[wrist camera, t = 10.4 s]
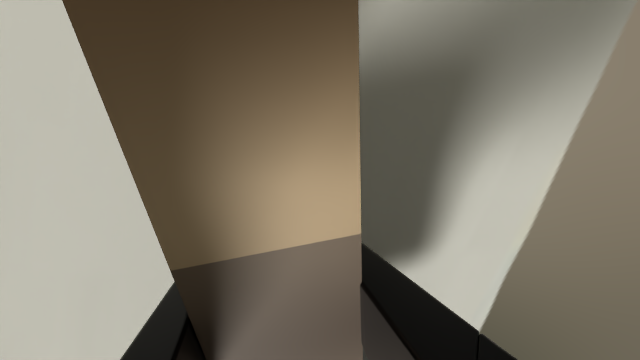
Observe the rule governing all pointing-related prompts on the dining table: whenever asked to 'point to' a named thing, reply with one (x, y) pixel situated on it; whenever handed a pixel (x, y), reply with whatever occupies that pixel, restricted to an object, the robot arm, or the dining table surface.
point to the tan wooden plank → (243, 161)
